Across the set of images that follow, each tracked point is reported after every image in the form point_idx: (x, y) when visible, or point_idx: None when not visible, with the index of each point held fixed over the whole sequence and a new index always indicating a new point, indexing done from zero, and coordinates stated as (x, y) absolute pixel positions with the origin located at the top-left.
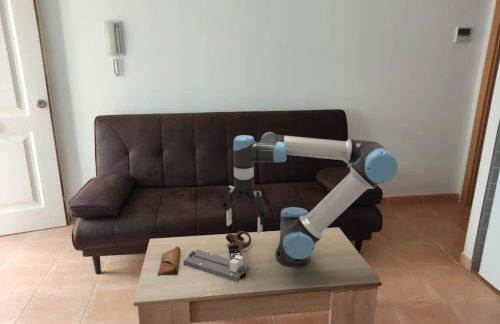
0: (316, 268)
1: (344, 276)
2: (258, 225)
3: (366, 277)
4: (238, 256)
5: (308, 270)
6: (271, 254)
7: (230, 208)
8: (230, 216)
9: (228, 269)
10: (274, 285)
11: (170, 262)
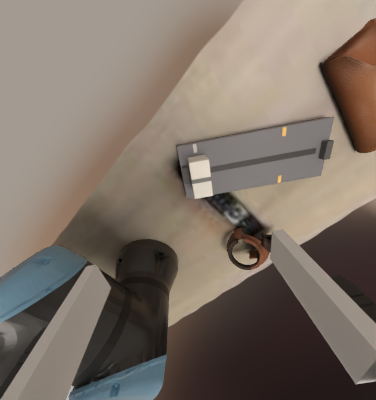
0: (99, 260)
1: None
2: (63, 312)
3: None
4: (205, 192)
5: (104, 250)
6: (182, 250)
7: (365, 381)
8: (302, 294)
9: (212, 159)
10: (111, 183)
11: (371, 64)
